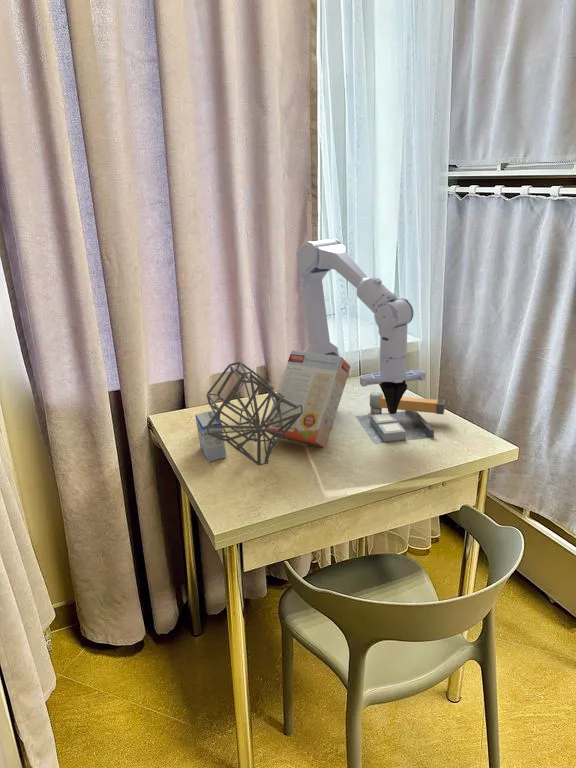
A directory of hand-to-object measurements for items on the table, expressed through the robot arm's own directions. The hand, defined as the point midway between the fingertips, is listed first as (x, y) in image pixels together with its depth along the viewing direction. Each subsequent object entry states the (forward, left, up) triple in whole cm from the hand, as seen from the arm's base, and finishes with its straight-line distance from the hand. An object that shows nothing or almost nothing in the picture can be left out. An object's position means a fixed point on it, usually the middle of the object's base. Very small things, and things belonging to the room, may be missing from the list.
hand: (392, 412), depth 125 cm
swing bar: (+6, +8, -3) cm, 11 cm away
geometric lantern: (-35, +22, +1) cm, 41 cm away
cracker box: (-23, +1, -5) cm, 23 cm away
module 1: (0, +6, -6) cm, 8 cm away
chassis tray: (+2, +5, -7) cm, 9 cm away
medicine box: (-41, +3, -7) cm, 42 cm away
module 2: (0, 0, -6) cm, 6 cm away
